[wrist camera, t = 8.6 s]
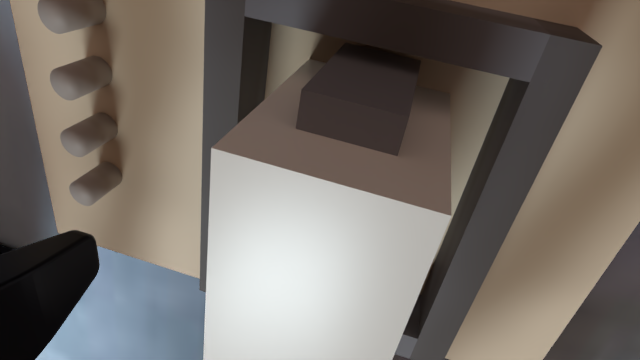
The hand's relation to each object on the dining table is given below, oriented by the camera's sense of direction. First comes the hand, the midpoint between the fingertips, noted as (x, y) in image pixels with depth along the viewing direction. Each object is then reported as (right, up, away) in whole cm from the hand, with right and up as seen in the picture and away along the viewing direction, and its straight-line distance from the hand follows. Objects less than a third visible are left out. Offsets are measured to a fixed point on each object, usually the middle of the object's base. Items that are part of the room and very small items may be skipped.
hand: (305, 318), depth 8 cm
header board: (0, +4, +7) cm, 8 cm away
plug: (+1, +3, +5) cm, 6 cm away
